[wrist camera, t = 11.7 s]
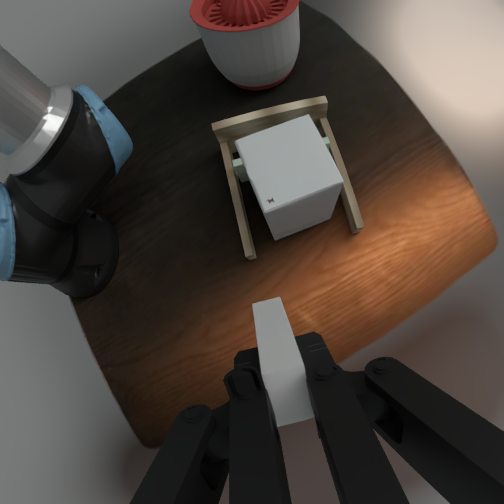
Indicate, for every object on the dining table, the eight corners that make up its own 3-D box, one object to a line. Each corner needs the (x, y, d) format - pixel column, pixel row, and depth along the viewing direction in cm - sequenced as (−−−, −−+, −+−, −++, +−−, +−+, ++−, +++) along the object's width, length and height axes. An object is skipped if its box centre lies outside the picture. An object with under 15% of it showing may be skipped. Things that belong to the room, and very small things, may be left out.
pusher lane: (250, 260, 45) (240, 252, 37) (224, 148, 48) (211, 123, 41) (358, 232, 44) (370, 219, 36) (322, 124, 47) (324, 95, 39)
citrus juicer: (269, 26, 51) (256, -52, 32) (319, 78, 48) (322, -11, 28) (199, 58, 52) (165, -17, 33) (240, 115, 49) (209, 30, 29)
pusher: (241, 182, 47) (233, 166, 41) (240, 176, 47) (232, 160, 41) (326, 161, 45) (330, 143, 40) (324, 155, 46) (327, 136, 40)
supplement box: (332, 219, 44) (347, 183, 30) (274, 242, 45) (262, 215, 31) (308, 164, 46) (310, 111, 31) (252, 186, 47) (232, 139, 32)
